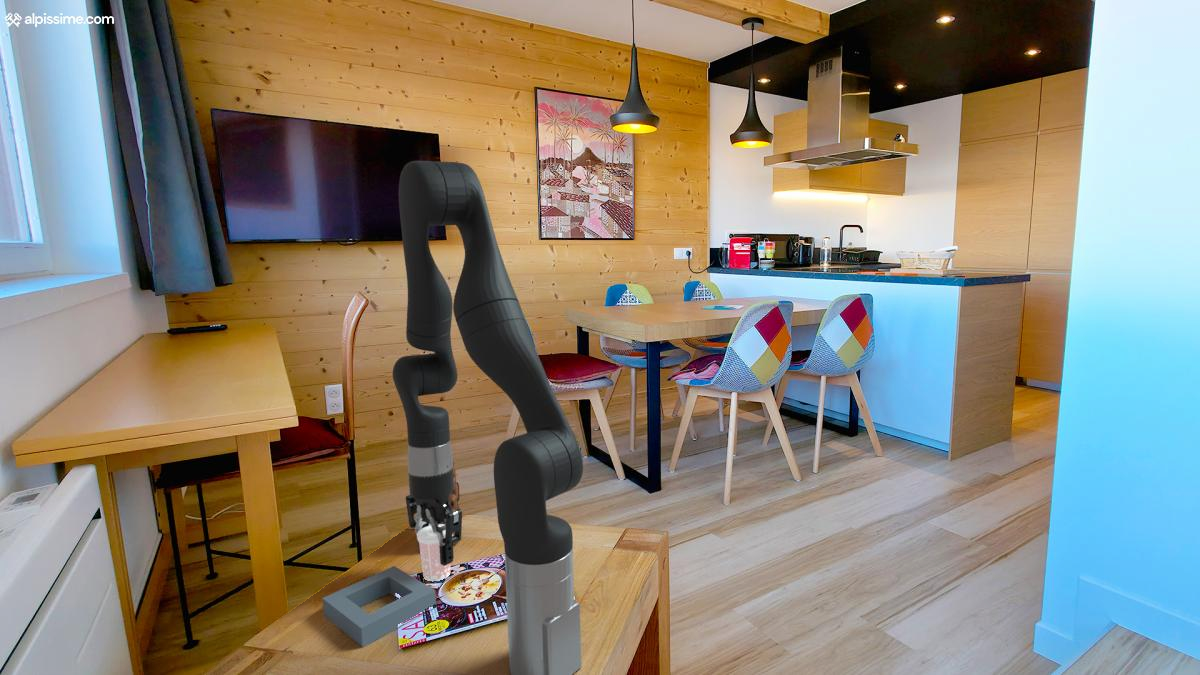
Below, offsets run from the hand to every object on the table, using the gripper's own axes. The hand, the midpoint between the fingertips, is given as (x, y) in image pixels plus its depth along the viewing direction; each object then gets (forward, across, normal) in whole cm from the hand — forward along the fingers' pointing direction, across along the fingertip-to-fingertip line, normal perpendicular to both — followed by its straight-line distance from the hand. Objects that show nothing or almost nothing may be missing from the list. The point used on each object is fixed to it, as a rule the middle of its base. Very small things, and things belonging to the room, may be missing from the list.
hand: (435, 557), depth 101 cm
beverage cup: (+4, 0, 0) cm, 4 cm away
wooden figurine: (+4, +12, -10) cm, 16 cm away
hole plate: (+4, -1, +11) cm, 12 cm away
